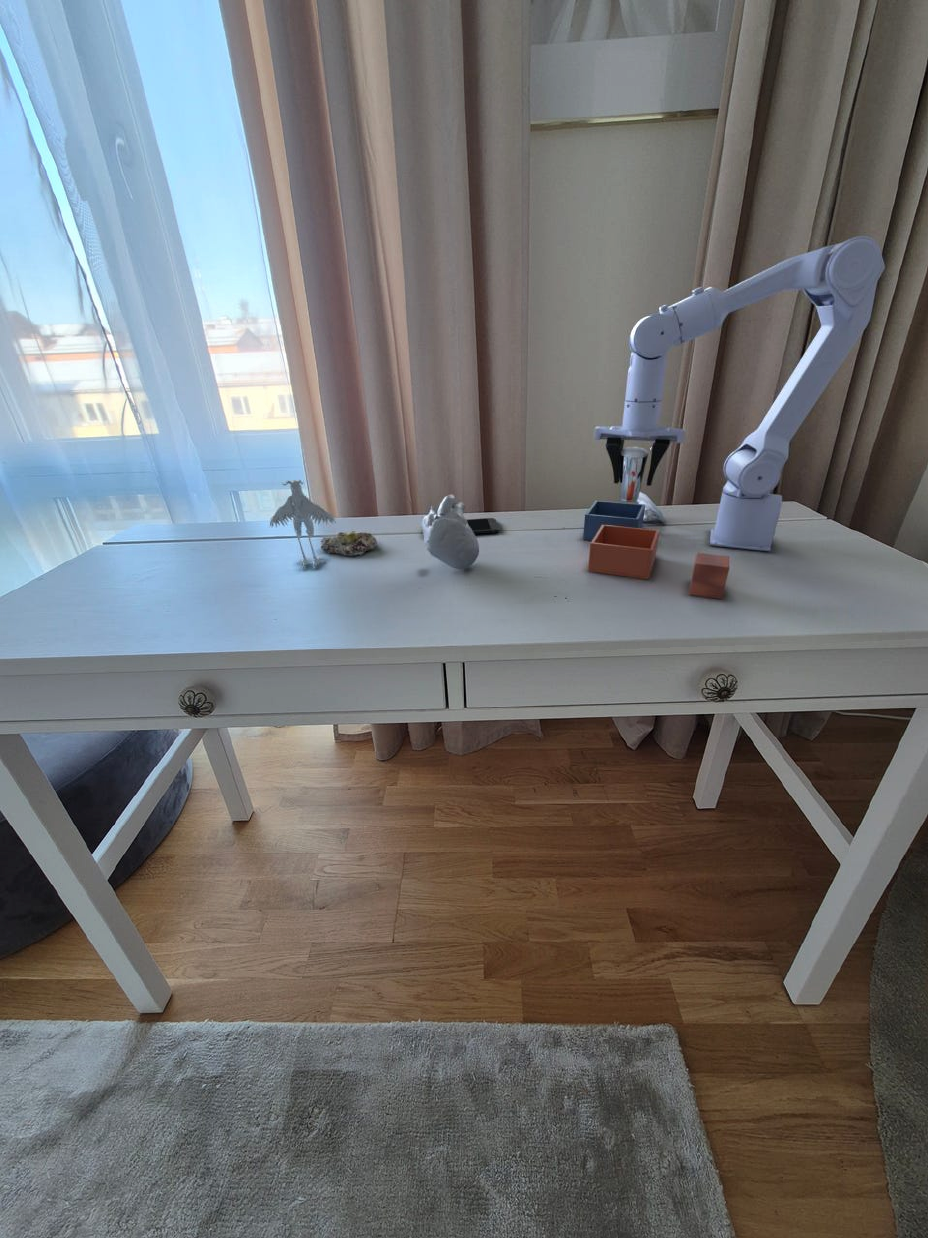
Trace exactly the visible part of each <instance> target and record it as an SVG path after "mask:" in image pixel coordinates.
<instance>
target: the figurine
mask: <svg viewBox="0 0 928 1238" xmlns="http://www.w3.org/2000/svg"><path fill="white" fill-rule="evenodd" d="M288 484H289V488H290V493H291V495H289V496H288V497H287V498H286V500H285V502H284V503H283V504H282V505H281V506H279V507H278V508H277V509H276V511H275V513H274V514H273V515H272V516H271V517H270V520H269V527H270V528H271V529H272V528H273V527H274V525H275V528H276V529H277V528H278V527H280V526H281V525H282V526H283V527H286V526H288V523H289V522H290V521H292V525H293V529H294V532H295V535H296V537H297V541H298V543H299V547H300V551H301V555H302V558H301V559H300V560H299V562H300V563H302V570H303V571H304V570H305V567H306V566H307V564H308V563H309V558H307V557H306V555H305V552H304V549H303V546H302V541H301V538H302V533H303V532H302V526H303V524H304V526H305V528H306V529H305V532H306V534H307V537H308V541H309V546H310V549H311V553H312V559H313V560H312V563H313V564H312V566H313V569H314V570H315V569H316V565H317V563H319V562H322V561H325V558H323V557H317V556H316V553H315V550H314V547H313V544H312V540H311V538H313V537H314V535H315V524H316V523H317V524H318V525H319V526H320V524H321V521H322V524H324V523H326V525H328V522H329V523H331V524H334V523H335V524H337V522H336V521H335V520H336V519H335V517H334V515H333V514H332V513H331V512H329V511H327V510H325V509H324V508H323V507H321V506H320V505H319V504H316V503H314V502H313V501H312V500H311V499H310V498H309V497H308V496H306V495H305V494H304V492H303V489H302V485H304V482H303V481H302V480H301V479H298V480H297V479H294V480H286V481H285V483H283V482H281V485H283V486H287V485H288ZM289 520H290V521H289ZM287 522H288V523H287ZM285 525H286V526H285Z"/></svg>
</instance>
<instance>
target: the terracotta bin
mask: <svg viewBox="0 0 928 1238" xmlns="http://www.w3.org/2000/svg"><path fill="white" fill-rule="evenodd" d="M660 531H661V530H660V529H650V528H643V527H642V528H632V527H622V526H612V525H602V526H601V527H600V529H599V530H598V532H597V534H596V535H595V537H594V539H593V540H592V541H591V542H590V544H589V554H588V567H587V572H590V573H591V572H592V573H599V574H606V575H612V576H620V577H627V578H633V579H642V580H649V579H650V577H651V573H652V570H653V567H654V563H655V561H656V558H657V557H656V556H657V550H658V544H659V537H660Z"/></svg>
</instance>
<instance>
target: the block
mask: <svg viewBox="0 0 928 1238" xmlns="http://www.w3.org/2000/svg"><path fill="white" fill-rule="evenodd" d="M729 572H730V555H724V554H713V553H704V552H696V553H695V559H694V564H693V569H692V574H691V579H690V584H689V585H690V586H689V591H688V595H689V596H694V597H695V596H696V597H704V598H711V599H716V600H723V596H724V593H725V588H726V584H727V580H728V576H729Z"/></svg>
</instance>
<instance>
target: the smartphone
mask: <svg viewBox="0 0 928 1238" xmlns="http://www.w3.org/2000/svg"><path fill="white" fill-rule="evenodd" d="M466 519H467V518H466ZM467 522H468V525H469V526H470V528H471V529H472V531H473V533H474V534H475V535H482V534H495V533H498V532H500V531H501V528H500V525H499V522H498V521H497V519H496V518H493V517H484V518H469V519H467Z"/></svg>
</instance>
